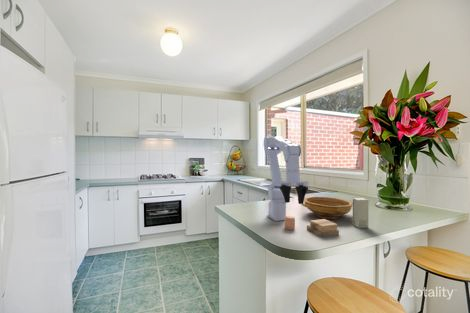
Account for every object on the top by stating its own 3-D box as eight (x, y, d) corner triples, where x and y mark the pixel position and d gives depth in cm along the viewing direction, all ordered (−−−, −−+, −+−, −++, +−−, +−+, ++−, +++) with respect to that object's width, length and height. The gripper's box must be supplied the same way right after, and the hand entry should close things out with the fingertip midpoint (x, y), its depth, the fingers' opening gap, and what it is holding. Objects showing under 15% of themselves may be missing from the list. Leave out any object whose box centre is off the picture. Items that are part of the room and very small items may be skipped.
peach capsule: (282, 227, 99) (282, 216, 99) (291, 226, 101) (291, 215, 101) (288, 230, 95) (288, 219, 95) (296, 229, 97) (296, 218, 96)
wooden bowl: (315, 224, 104) (316, 207, 104) (291, 211, 128) (291, 197, 128) (368, 220, 111) (368, 204, 111) (335, 208, 134) (336, 195, 134)
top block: (310, 226, 96) (310, 220, 96) (324, 224, 98) (324, 218, 98) (322, 232, 89) (322, 226, 89) (337, 230, 91) (337, 224, 91)
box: (362, 224, 104) (363, 197, 104) (368, 228, 100) (369, 199, 100) (351, 224, 104) (352, 197, 104) (357, 228, 100) (357, 199, 99)
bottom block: (306, 231, 97) (306, 225, 97) (323, 229, 100) (323, 223, 100) (320, 238, 88) (320, 232, 88) (338, 236, 91) (338, 230, 91)
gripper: (274, 172, 100) (275, 202, 99) (299, 170, 88) (300, 205, 87) (285, 172, 104) (286, 201, 103) (311, 170, 92) (312, 203, 90)
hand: (294, 203), depth 95 cm, fingers open, 7 cm apart
